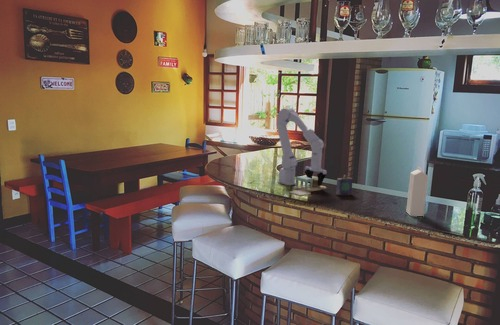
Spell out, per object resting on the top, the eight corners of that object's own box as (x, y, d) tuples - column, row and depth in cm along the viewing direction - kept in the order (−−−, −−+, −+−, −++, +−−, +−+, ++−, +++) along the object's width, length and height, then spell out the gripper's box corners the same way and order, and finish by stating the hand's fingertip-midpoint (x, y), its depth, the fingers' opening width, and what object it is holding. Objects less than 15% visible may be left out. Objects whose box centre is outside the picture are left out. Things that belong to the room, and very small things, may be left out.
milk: (409, 216, 177) (414, 168, 173) (405, 212, 183) (410, 165, 179) (423, 217, 176) (429, 168, 172) (419, 213, 182) (424, 166, 178)
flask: (337, 195, 209) (338, 175, 207) (334, 194, 211) (335, 174, 210) (352, 195, 212) (354, 175, 210) (349, 193, 214) (350, 174, 213)
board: (293, 188, 221) (293, 186, 221) (313, 185, 231) (313, 183, 231) (306, 192, 213) (306, 190, 213) (326, 188, 224) (326, 186, 224)
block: (309, 187, 225) (309, 179, 224) (314, 186, 228) (314, 178, 227) (314, 189, 222) (315, 180, 221) (319, 188, 224) (320, 179, 224)
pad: (289, 192, 211) (289, 191, 211) (300, 190, 216) (300, 189, 216) (300, 195, 205) (300, 194, 205) (310, 194, 210) (310, 192, 210)
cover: (295, 186, 220) (295, 176, 220) (301, 185, 224) (302, 175, 223) (305, 189, 214) (306, 179, 213) (312, 188, 217) (312, 178, 217)
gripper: (301, 159, 225) (300, 182, 227) (321, 163, 214) (319, 187, 216) (310, 158, 230) (308, 181, 232) (329, 162, 218) (328, 186, 221)
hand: (314, 184), depth 224 cm, fingers open, 7 cm apart
